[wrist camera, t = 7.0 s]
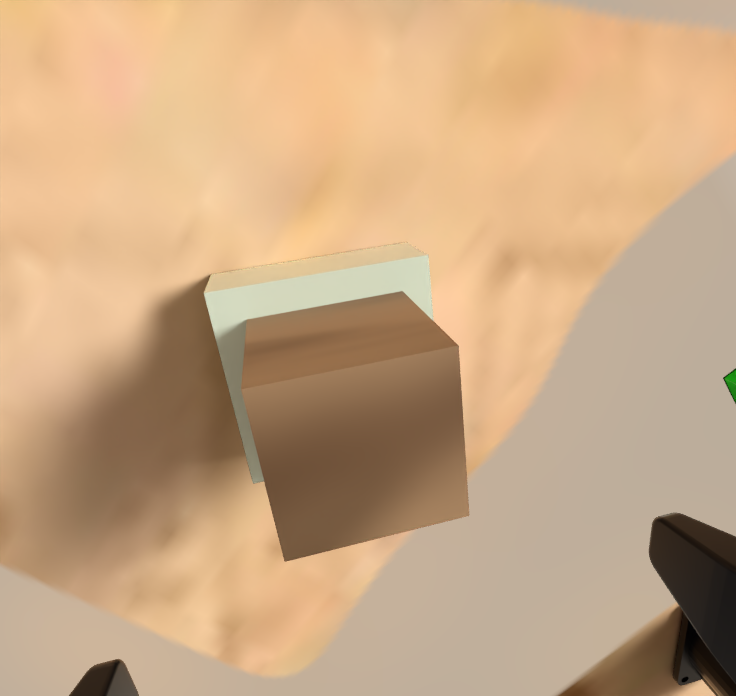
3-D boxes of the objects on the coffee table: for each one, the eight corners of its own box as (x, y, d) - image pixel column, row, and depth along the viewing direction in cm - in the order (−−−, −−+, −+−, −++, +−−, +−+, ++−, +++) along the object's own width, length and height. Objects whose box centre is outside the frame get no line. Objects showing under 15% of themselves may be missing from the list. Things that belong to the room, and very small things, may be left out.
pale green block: (422, 409, 21) (442, 441, 19) (253, 445, 20) (253, 483, 18) (407, 242, 18) (428, 254, 16) (211, 274, 17) (203, 293, 15)
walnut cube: (416, 423, 18) (469, 515, 14) (278, 454, 17) (284, 561, 13) (402, 290, 16) (458, 345, 12) (246, 319, 16) (240, 389, 11)
